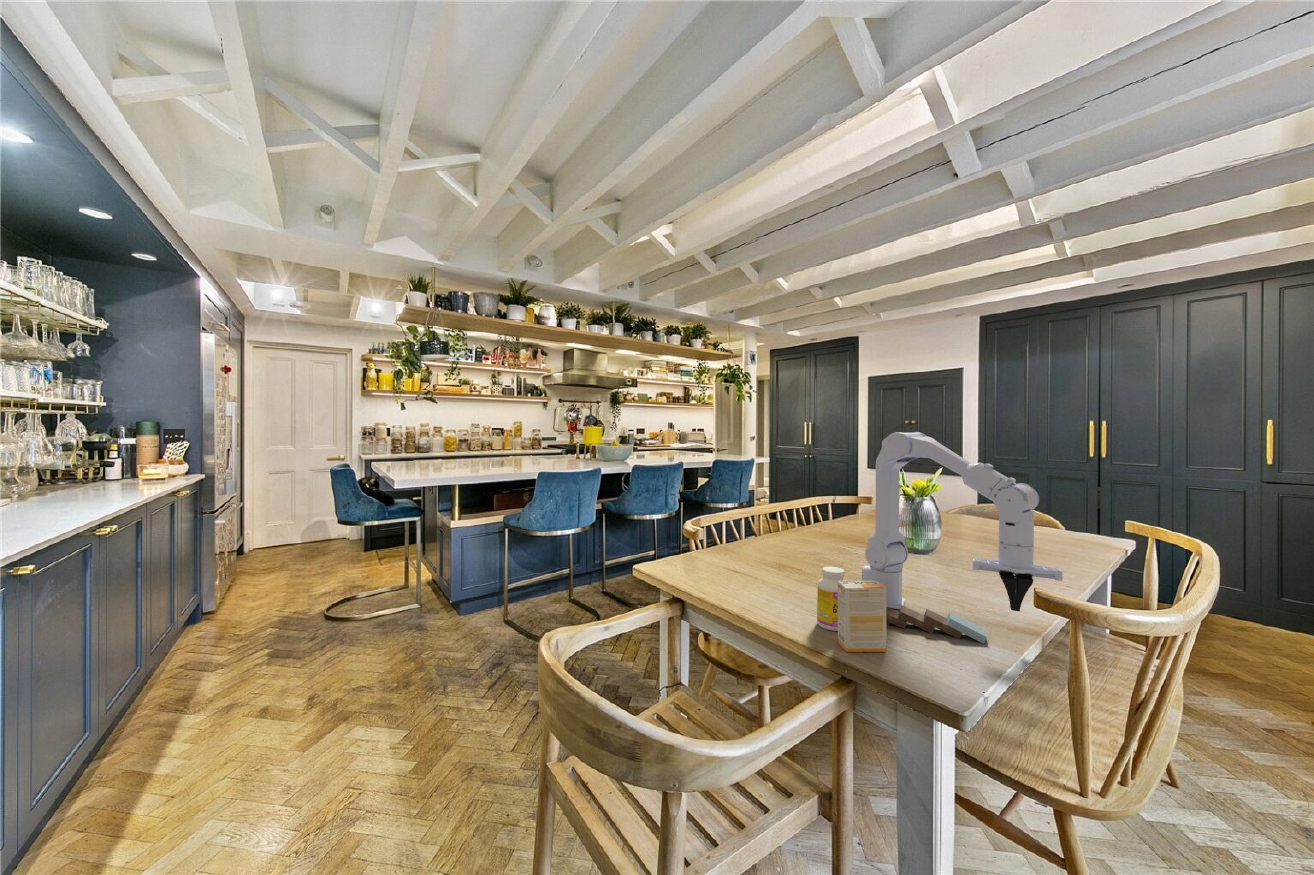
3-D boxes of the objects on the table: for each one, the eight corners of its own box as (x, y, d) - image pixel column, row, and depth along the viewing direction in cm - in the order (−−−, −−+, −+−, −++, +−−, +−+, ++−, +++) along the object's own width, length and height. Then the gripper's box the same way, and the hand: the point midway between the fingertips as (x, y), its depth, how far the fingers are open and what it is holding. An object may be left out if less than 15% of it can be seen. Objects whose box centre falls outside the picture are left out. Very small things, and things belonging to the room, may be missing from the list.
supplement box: (875, 642, 99) (876, 579, 98) (887, 652, 94) (887, 587, 93) (836, 642, 99) (836, 579, 98) (845, 652, 94) (846, 587, 93)
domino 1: (904, 628, 105) (871, 614, 108) (903, 621, 109) (871, 608, 112) (906, 622, 105) (873, 608, 108) (905, 614, 109) (873, 601, 111)
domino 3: (959, 639, 100) (923, 621, 103) (958, 631, 104) (923, 615, 107) (962, 632, 100) (926, 615, 103) (961, 625, 103) (926, 608, 107)
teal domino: (983, 643, 98) (946, 624, 101) (981, 635, 101) (946, 617, 105) (987, 637, 97) (950, 618, 101) (985, 629, 101) (949, 611, 104)
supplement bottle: (832, 634, 102) (832, 575, 102) (810, 622, 108) (811, 567, 108) (855, 629, 105) (855, 571, 105) (833, 618, 111) (833, 563, 111)
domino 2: (932, 633, 102) (898, 617, 106) (932, 626, 106) (899, 611, 110) (935, 627, 102) (900, 611, 106) (935, 620, 106) (901, 605, 109)
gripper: (974, 543, 97) (973, 608, 97) (1066, 552, 89) (1065, 623, 90) (972, 536, 103) (971, 598, 103) (1058, 544, 95) (1057, 611, 96)
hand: (1014, 609), depth 97 cm, fingers closed
